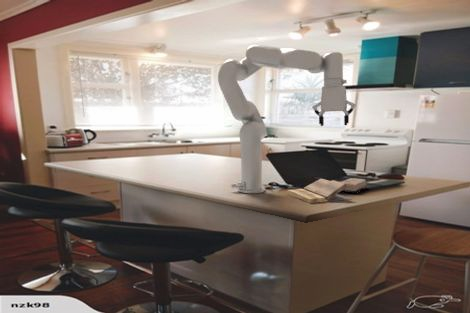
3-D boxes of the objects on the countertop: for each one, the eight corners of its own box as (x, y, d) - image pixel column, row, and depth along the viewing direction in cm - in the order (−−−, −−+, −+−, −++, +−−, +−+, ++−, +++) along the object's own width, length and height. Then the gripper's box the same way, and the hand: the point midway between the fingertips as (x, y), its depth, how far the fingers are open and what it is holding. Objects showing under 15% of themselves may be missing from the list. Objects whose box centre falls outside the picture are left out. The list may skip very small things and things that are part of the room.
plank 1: (315, 195, 149) (314, 191, 148) (304, 191, 157) (303, 188, 156) (333, 184, 152) (332, 181, 151) (322, 181, 160) (321, 178, 159)
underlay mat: (309, 203, 137) (309, 203, 137) (287, 194, 154) (287, 193, 154) (350, 199, 144) (350, 198, 144) (325, 190, 161) (325, 190, 161)
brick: (349, 186, 171) (349, 176, 171) (366, 188, 166) (367, 178, 166) (336, 192, 158) (336, 182, 158) (355, 195, 153) (355, 184, 153)
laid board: (309, 203, 137) (310, 198, 137) (287, 194, 154) (287, 189, 154) (327, 201, 140) (327, 197, 140) (303, 192, 157) (303, 188, 157)
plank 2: (328, 200, 140) (326, 196, 140) (315, 195, 148) (314, 192, 148) (346, 186, 143) (345, 183, 142) (333, 183, 151) (332, 179, 150)
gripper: (356, 82, 144) (356, 124, 146) (314, 86, 151) (314, 125, 153) (354, 81, 137) (354, 125, 139) (310, 84, 144) (311, 126, 146)
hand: (333, 125), depth 146 cm, fingers open, 9 cm apart
